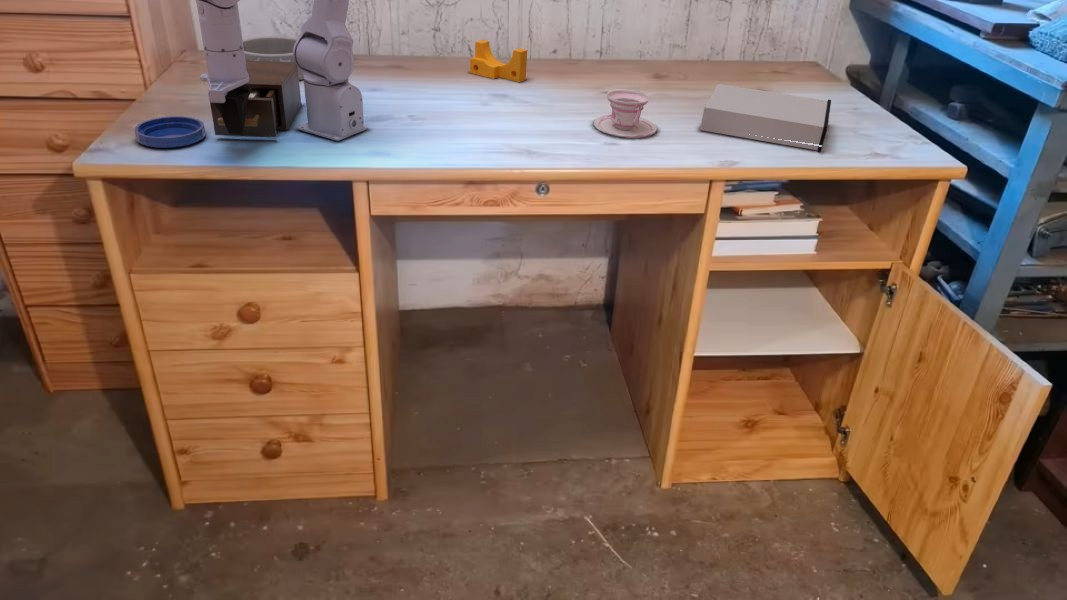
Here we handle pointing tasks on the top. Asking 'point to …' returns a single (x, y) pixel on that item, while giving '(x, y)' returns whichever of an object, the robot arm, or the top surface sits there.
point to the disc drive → (767, 116)
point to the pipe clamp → (498, 63)
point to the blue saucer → (170, 132)
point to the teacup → (626, 115)
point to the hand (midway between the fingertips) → (236, 133)
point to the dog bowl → (270, 49)
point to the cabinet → (278, 85)
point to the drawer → (254, 115)
